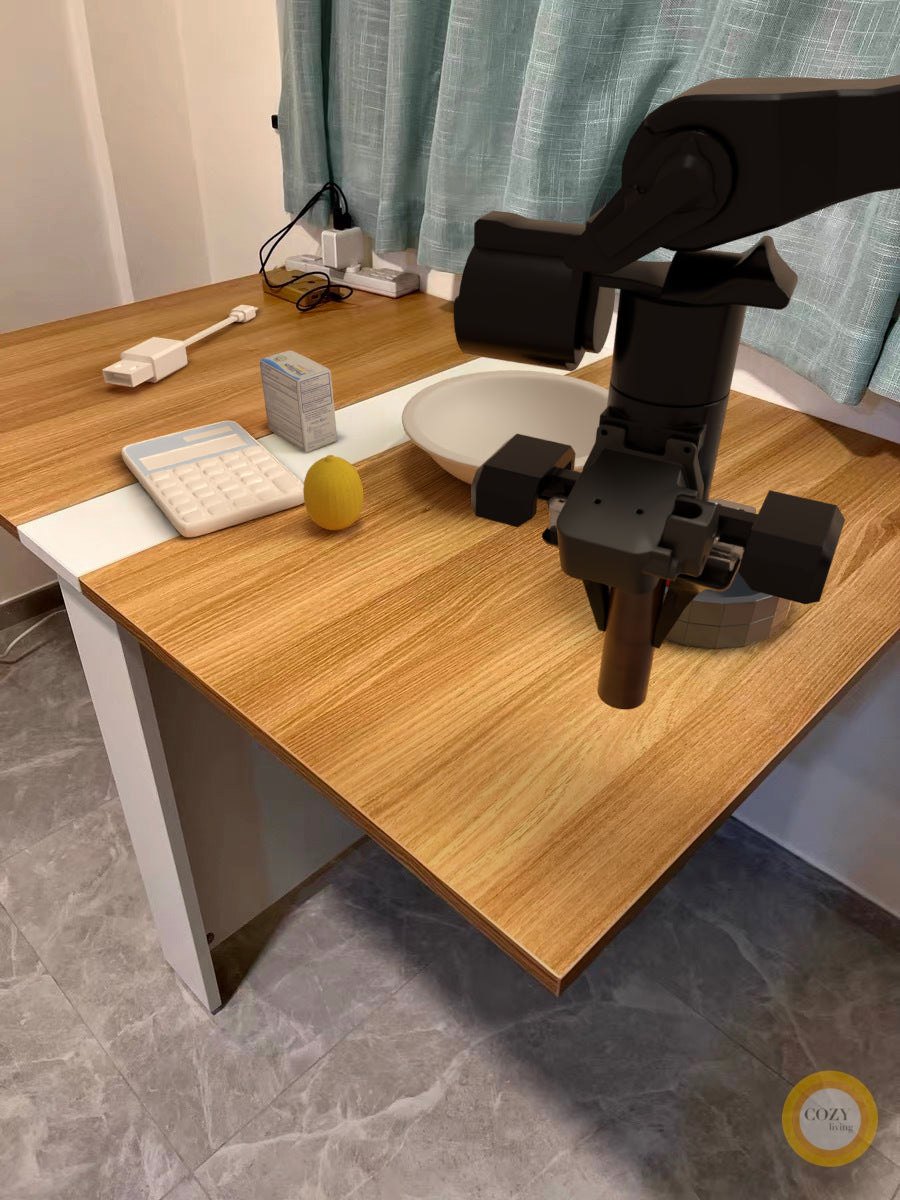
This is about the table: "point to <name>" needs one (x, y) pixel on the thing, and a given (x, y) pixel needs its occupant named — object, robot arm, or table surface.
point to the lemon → (333, 493)
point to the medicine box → (299, 400)
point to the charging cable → (163, 354)
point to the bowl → (729, 617)
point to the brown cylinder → (629, 646)
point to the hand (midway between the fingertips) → (630, 635)
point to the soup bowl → (502, 416)
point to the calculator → (212, 477)
